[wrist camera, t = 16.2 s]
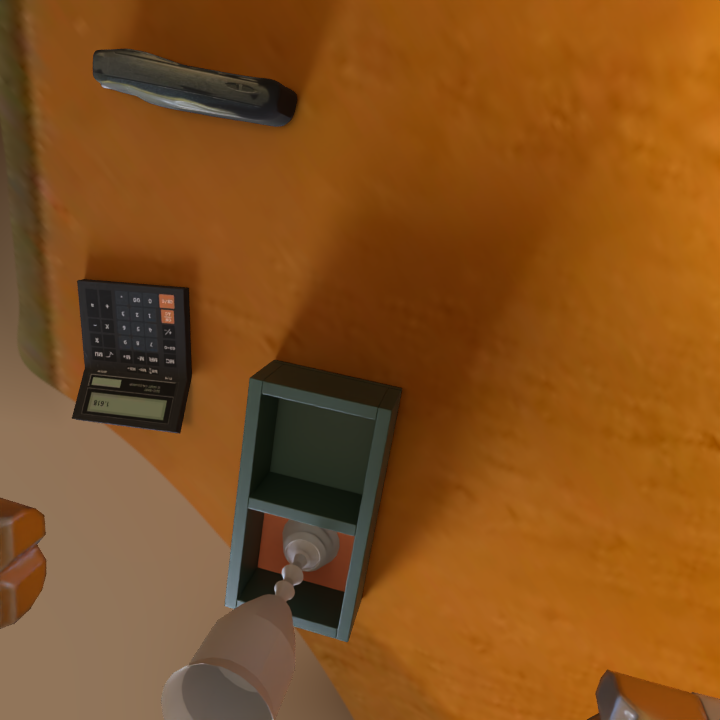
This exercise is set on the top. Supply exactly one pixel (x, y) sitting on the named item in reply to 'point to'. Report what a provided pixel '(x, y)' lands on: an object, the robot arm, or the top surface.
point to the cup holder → (310, 487)
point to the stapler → (194, 87)
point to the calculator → (134, 354)
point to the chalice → (250, 645)
